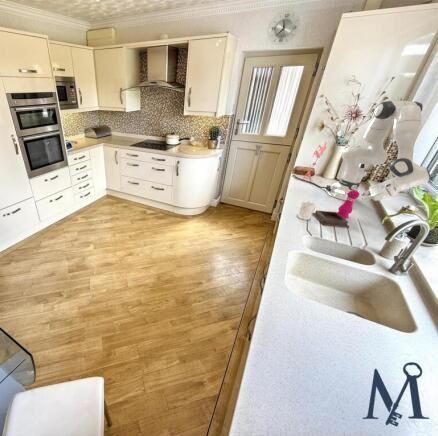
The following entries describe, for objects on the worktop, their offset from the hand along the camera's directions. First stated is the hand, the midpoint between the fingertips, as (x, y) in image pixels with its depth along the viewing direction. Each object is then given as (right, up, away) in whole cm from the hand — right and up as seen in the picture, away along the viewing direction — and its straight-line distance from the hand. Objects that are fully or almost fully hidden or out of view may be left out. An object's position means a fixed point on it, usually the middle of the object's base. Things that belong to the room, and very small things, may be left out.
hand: (362, 197), depth 149 cm
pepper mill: (-4, -12, +10) cm, 16 cm away
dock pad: (-18, -15, +3) cm, 24 cm away
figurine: (+18, +23, +71) cm, 77 cm away
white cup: (-34, -13, +6) cm, 37 cm away
